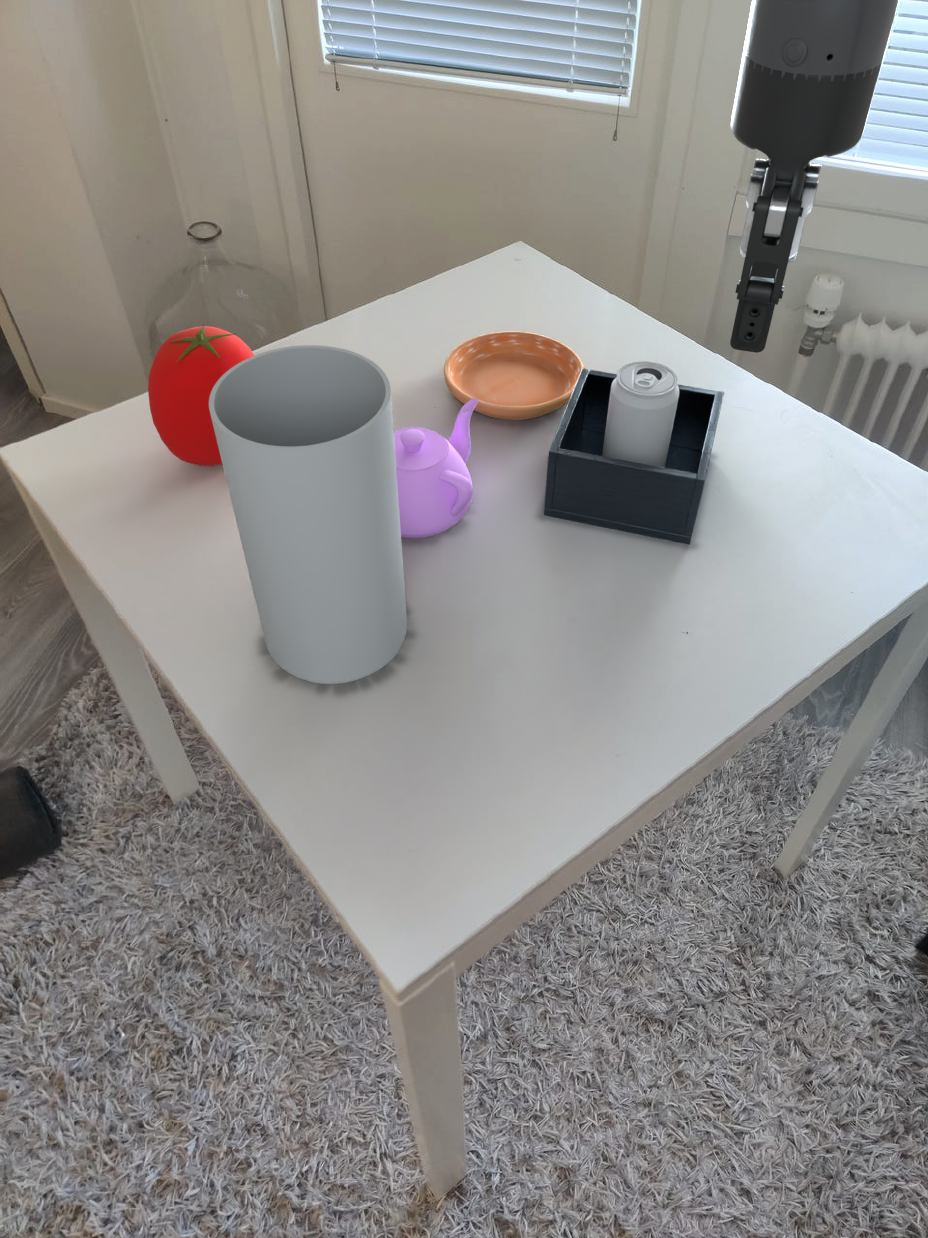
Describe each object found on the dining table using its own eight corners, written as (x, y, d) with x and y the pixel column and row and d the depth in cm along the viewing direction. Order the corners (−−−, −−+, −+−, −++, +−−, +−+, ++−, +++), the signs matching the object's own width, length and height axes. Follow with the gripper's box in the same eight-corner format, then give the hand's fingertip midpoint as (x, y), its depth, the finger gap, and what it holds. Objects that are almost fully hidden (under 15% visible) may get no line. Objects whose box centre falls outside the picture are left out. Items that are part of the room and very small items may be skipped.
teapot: (477, 467, 100) (478, 396, 93) (472, 558, 90) (472, 486, 84) (365, 463, 100) (358, 392, 93) (348, 554, 91) (339, 483, 84)
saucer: (495, 337, 117) (495, 315, 114) (607, 380, 110) (610, 357, 108) (416, 398, 108) (414, 375, 106) (533, 448, 102) (534, 425, 99)
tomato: (204, 500, 96) (171, 380, 86) (143, 451, 101) (105, 333, 91) (301, 446, 102) (282, 328, 92) (239, 403, 108) (214, 286, 97)
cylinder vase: (370, 706, 78) (340, 467, 60) (239, 663, 82) (172, 424, 63) (429, 604, 86) (419, 365, 68) (308, 569, 89) (266, 331, 71)
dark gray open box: (709, 455, 101) (724, 391, 95) (689, 545, 91) (705, 480, 86) (575, 431, 104) (582, 367, 98) (543, 515, 94) (548, 451, 88)
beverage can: (669, 467, 98) (690, 366, 89) (651, 504, 94) (670, 403, 85) (611, 451, 100) (625, 351, 91) (590, 487, 96) (603, 386, 87)
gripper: (882, 96, 47) (802, 381, 58) (887, 15, 56) (817, 275, 68) (728, 83, 48) (681, 362, 60) (758, 6, 58) (712, 262, 69)
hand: (753, 316), depth 64 cm, fingers open, 8 cm apart
